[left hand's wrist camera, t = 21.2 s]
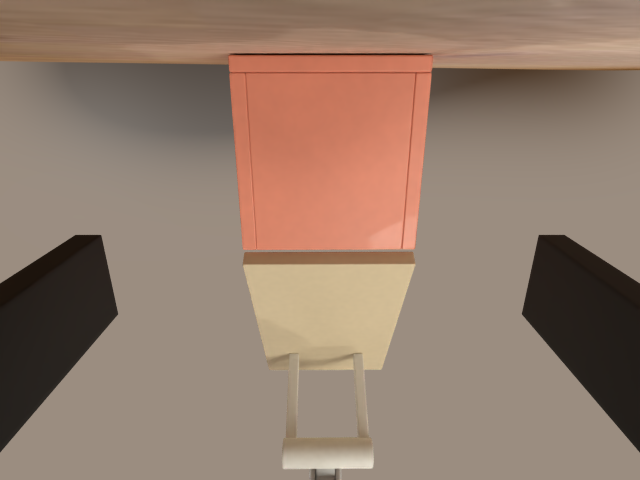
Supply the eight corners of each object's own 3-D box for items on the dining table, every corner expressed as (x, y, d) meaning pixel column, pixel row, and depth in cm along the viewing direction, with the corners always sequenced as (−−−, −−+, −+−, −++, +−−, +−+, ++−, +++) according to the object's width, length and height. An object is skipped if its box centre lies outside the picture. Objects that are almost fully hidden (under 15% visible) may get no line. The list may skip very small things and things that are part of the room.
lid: (380, 359, 34) (392, 476, 28) (270, 360, 34) (261, 477, 28) (413, 251, 22) (443, 414, 17) (244, 251, 22) (221, 415, 17)
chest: (385, 63, 31) (378, 184, 35) (265, 63, 31) (270, 185, 34) (433, 54, 18) (415, 249, 22) (227, 54, 18) (242, 250, 22)
